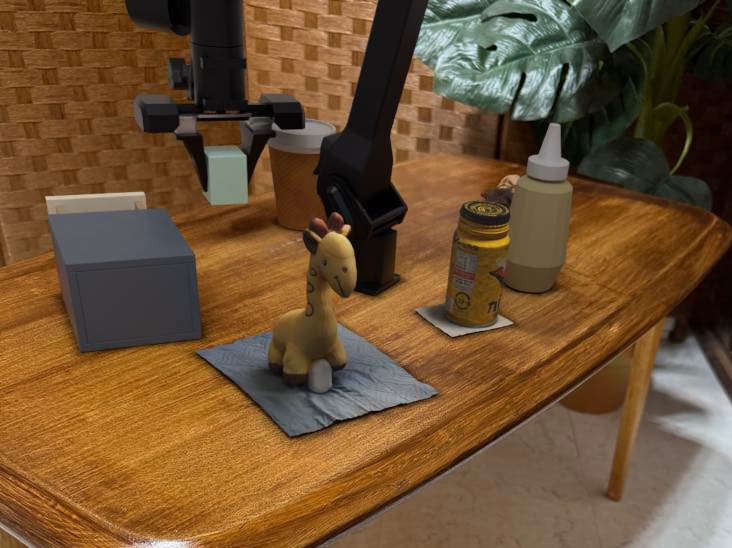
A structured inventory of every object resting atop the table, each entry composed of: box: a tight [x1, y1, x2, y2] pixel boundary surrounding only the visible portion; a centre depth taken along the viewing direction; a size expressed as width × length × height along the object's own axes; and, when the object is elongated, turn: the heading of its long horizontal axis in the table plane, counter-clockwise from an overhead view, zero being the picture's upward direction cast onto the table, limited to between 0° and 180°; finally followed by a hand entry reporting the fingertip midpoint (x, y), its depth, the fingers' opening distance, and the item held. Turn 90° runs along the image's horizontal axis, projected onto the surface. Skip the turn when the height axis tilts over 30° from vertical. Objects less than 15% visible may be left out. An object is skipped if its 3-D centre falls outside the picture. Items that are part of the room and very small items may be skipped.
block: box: [201, 145, 249, 206], centre depth 101 cm, size 4×4×6 cm
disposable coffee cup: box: [266, 117, 337, 231], centre depth 110 cm, size 10×10×12 cm
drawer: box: [44, 191, 148, 216], centre depth 93 cm, size 17×10×7 cm, turn 24°
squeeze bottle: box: [503, 122, 574, 293], centre depth 97 cm, size 8×8×18 cm
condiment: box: [414, 200, 514, 338], centre depth 90 cm, size 7×8×12 cm
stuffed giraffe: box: [194, 212, 439, 437], centre depth 76 cm, size 16×18×16 cm
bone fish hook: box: [480, 174, 521, 210], centre depth 123 cm, size 9×5×18 cm
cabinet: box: [47, 207, 202, 353], centre depth 85 cm, size 14×12×9 cm
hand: (225, 190), depth 103 cm, fingers closed on block, 4 cm apart
